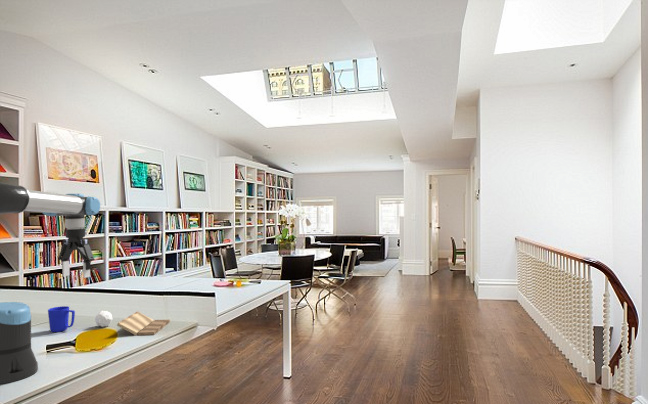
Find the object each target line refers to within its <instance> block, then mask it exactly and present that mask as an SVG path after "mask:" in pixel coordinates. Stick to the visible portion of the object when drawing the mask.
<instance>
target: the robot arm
mask: <svg viewBox="0 0 648 404" xmlns="http://www.w3.org/2000/svg"><path fill="white" fill-rule="evenodd" d="M100 210H101V202H100V200H99V199H98V197H96V196H85V195H84V194H83V193H65V194H64V193H55V192H48V191H39V190H34V189H33V190H31V189H28V188H26V187H25V186H22V185H16V184H11V183H6V182H1V181H0V215H4V214H5V215H6V214H21V213H24V212H34V213H42V214H43V215H44V216H47V217H55V216H56V217H59V216H60V217H61V216H64V222H65V223H64V225H65V226H64V228H65V239H63V240H62V245H61V249H60V251H59V255H58V258H57V259H58V260H59V261H61V264H62V265H61V268H62V277H69V276H70V270H71V269H70V257H71V255H72V253H73V251H77V252H78V253H79V255H80V257H81V258H82V259H83V262H82V270H83V272H82V274H83V277H82V278H84V279H86V278H90V277H91V267H92V265H91V262H93V261H95V257H94V254H93V252H92V249H91V246H90V240H89V239H88V238H87V239H86V238H85V237H86V228H85V227H86V222H85V221H86V218H85V217H86V216H91V215H93V216H94V215H95V216H96V215H97V214H98V213H99V212H100ZM84 238H85V239H84ZM38 371H39V363H38V361H37V359H36V356H35V354H34V351H33V349H32V314H31V308H30V306H29V305H28V304H27V303H24V302H20V301H19V302H18V301H10V302H9V301H5V302H0V384H7V383H12V382H17V381H19V380H24V379H25V378H28V377H30V376H33V375H35V374H36V373H37V372H38Z"/></svg>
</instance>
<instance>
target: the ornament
mask: <svg viewBox="0 0 648 404" xmlns="http://www.w3.org/2000/svg"><path fill="white" fill-rule="evenodd" d="M94 320H95V323H96V325H97V326H98V327H101V328H105V327H108V326H109V325H110V324H112V322H113V315H112V313H111V312H109V311H108V310H101V311H100V312H99V313H97V314H96V316H95V318H94Z"/></svg>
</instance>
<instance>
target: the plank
mask: <svg viewBox="0 0 648 404" xmlns="http://www.w3.org/2000/svg"><path fill="white" fill-rule="evenodd" d="M153 321H155V319H153V318H151V317H149V316H147V315H145V314H143V313H142V312H140V311H138V310H137V311H135V312H133V313H132V314H130V315H129V316H127V317H126V318H124V319H122V320H120V321H118V322H117V324H116V326H117V327H119V328H121V329H123V330H125V331H127V332H129V333H130V334H132V335H134V336H138V335H137V334H138V332H140V331H141V330H142V329H144V328H145V327H146V326H148V325H149V324H151V323H152V322H153Z"/></svg>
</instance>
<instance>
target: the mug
mask: <svg viewBox="0 0 648 404" xmlns="http://www.w3.org/2000/svg"><path fill="white" fill-rule="evenodd" d="M70 313H71V320H70V325H69V319H70ZM75 314H76V311H75V310H74V309H70V306H67V305H66V306H64V305H63V306H56V307H55V306H54V307H51V308H49V309H47V315H48V323H49V330H50V332H53V333H59V332H64V331H66V330H68V328H71V327H73V326H74V323H75V318H76V317H75V316H76V315H75Z"/></svg>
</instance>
